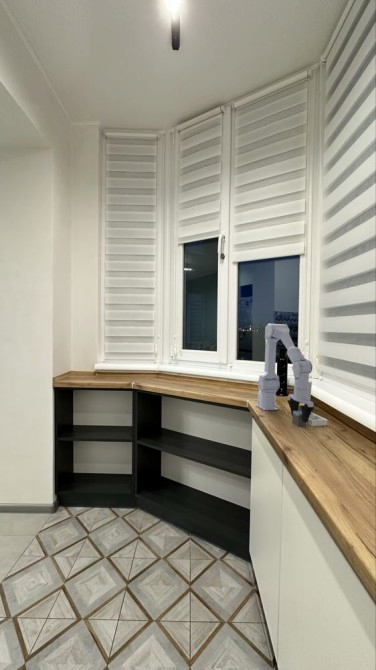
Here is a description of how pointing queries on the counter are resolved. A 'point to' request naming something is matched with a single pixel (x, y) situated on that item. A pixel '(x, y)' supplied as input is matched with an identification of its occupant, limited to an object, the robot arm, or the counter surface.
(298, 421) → the blue plug
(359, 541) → the counter surface
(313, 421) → the rack
